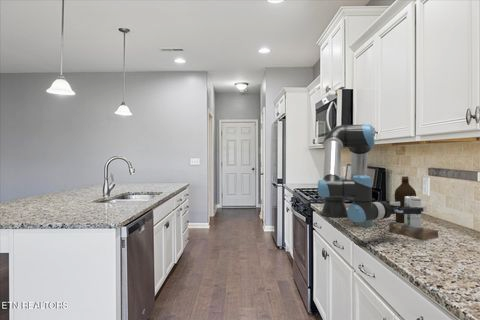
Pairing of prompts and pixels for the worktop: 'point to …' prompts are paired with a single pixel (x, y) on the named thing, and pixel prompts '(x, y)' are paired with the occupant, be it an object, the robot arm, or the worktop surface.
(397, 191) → the olive oil
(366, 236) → the worktop surface
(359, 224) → the grey-green tapered bin
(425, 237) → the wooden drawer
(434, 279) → the worktop surface
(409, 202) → the syrup box
